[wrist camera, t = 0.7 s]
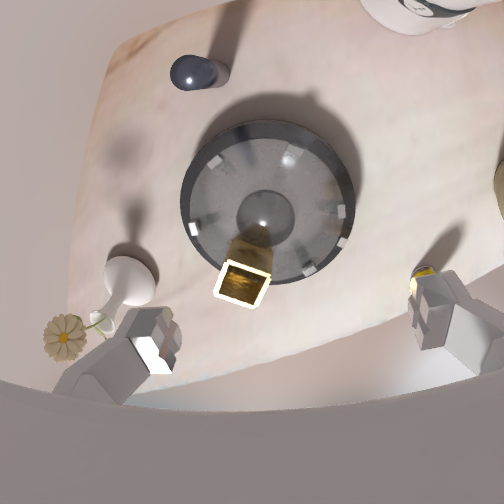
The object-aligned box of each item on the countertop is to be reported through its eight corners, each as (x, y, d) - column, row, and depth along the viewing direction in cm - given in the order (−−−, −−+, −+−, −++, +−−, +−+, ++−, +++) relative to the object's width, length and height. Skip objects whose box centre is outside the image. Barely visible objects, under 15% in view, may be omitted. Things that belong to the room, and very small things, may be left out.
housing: (215, 95, 42) (208, 96, 38) (378, 161, 45) (386, 169, 41) (171, 241, 55) (163, 254, 51) (308, 290, 58) (309, 306, 54)
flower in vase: (166, 269, 58) (111, 372, 37) (149, 307, 64) (102, 404, 43) (106, 237, 56) (31, 324, 35) (96, 279, 62) (34, 365, 40)
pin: (207, 58, 40) (176, 51, 27) (233, 66, 40) (212, 60, 28) (198, 83, 42) (165, 85, 29) (224, 91, 42) (200, 95, 30)
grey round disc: (218, 114, 40) (205, 121, 33) (368, 175, 42) (382, 193, 35) (176, 250, 51) (162, 276, 45) (302, 295, 53) (304, 325, 47)
